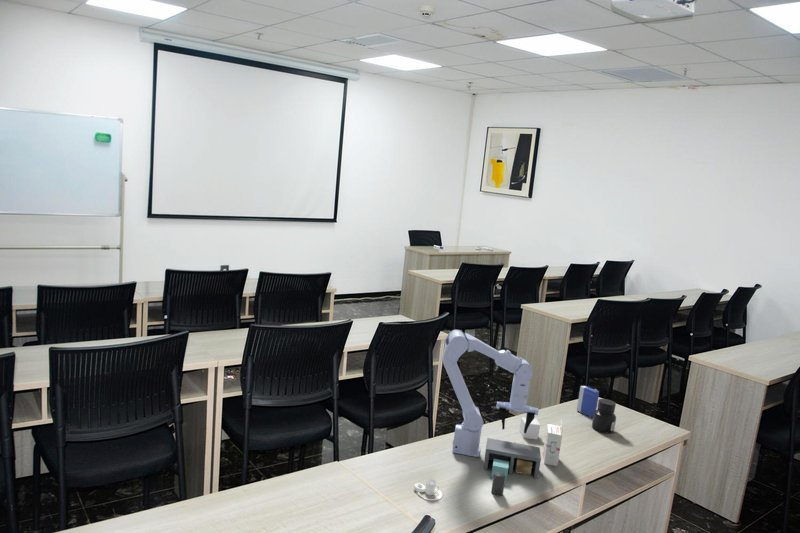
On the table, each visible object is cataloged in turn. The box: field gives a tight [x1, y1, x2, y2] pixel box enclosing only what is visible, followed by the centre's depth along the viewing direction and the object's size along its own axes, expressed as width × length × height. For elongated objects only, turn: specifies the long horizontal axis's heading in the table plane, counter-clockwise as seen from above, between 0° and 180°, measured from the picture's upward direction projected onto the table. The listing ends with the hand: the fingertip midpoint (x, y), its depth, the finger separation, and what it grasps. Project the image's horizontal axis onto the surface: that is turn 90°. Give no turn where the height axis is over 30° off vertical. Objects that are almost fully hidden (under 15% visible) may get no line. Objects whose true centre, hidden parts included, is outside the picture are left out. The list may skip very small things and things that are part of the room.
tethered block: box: [490, 459, 509, 497], centre depth 187 cm, size 5×16×6 cm, turn 167°
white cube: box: [519, 416, 541, 440], centre depth 229 cm, size 6×6×6 cm
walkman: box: [576, 385, 600, 418], centre depth 258 cm, size 8×3×12 cm, turn 40°
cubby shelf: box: [483, 437, 542, 480], centre depth 199 cm, size 18×9×7 cm, turn 79°
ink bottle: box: [591, 398, 617, 434], centre depth 242 cm, size 10×9×12 cm
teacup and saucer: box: [413, 479, 443, 502], centre depth 178 cm, size 9×8×4 cm
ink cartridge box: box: [542, 418, 563, 467], centre depth 208 cm, size 9×5×15 cm, turn 168°
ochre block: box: [514, 458, 533, 476], centre depth 199 cm, size 5×5×4 cm
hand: (514, 430), depth 208 cm, fingers open, 7 cm apart
